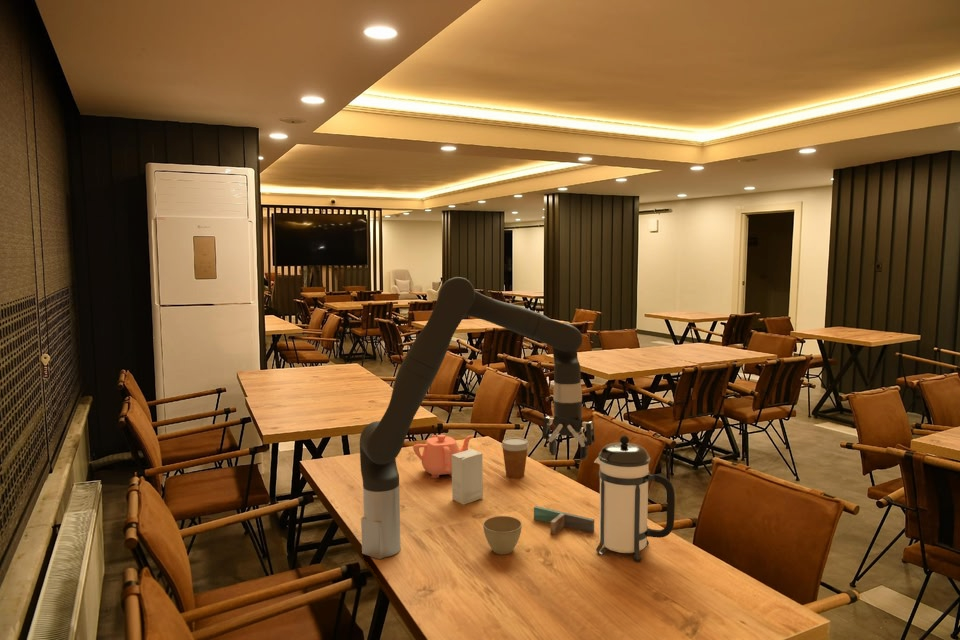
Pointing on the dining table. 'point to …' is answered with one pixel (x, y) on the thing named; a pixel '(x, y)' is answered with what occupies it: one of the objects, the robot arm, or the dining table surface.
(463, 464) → the skincare box
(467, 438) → the teapot
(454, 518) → the dining table surface
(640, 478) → the coffee press
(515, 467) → the disposable coffee cup
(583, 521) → the t-shaped slab assembly
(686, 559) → the dining table surface
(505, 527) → the flower pot
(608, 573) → the dining table surface
